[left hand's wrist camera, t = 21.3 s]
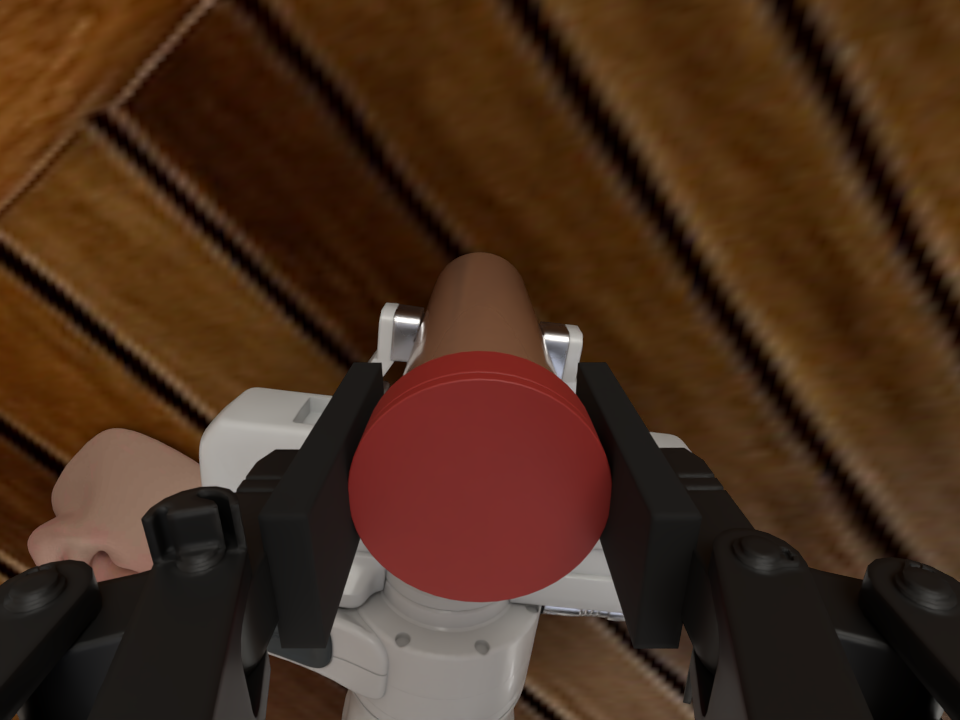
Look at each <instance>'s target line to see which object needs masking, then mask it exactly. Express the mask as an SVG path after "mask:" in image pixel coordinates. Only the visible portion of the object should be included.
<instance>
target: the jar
mask: <svg viewBox="0 0 960 720" xmlns="http://www.w3.org/2000/svg"><path fill="white" fill-rule="evenodd" d="M470 351H491V352H500V353H505V354H511V355H514V356H518V357H521V358H524V359H527V360H529V361H532V362H534V363H536V364H538V365H540V366H542V367H544V368H545V369H547V370H549V371H550V372H552V373H554V374H555V375H556V376H557V373H556V370H555V367H554V365H553V362H552V359H551V356H550V353H549V351H548V348H547V345H546V342H545V340H544V337H543V334H542V331H541V329H540V326H539V323H538V320H537V317H536V315H535V312H534V309H533V306H532V304H531V301H530V298H529V295H528V293H527V290H526V287H525V284H524V281H523V279H522V277H521V275H520V274H519V272H518V271H517V270H516V269H515V267H514V266H513V265H512V264H510V263H509V262H508V261H506V260H505V259H503V258H501V257H499V256H497V255H494V254H490V253H481V252H478V253H470V254H466V255H463V256H461V257H459V258H457V259H455V260H454V261H452V262H451V263H449V264H448V265H447V266H446V267H445V268H444V270H443V271H442V272H441V274H440V275H439V277H438V279H437V281H436V284H435V287H434V289H433V292H432V295H431V298H430V300H429V303H428V306H427V309H426V312H425V314H424V317H423V320H422V323H421V325H420V328H419V331H418V334H417V336H416V339H415V342H414V345H413V347H412V350H411V353H410V356H409V359H408V361H407V364H406V367H405V370H404V372H403V375H402V376H404V375H405V374H407V373H408V372H410V371H411V370H413V369H414V368H416V367H418V366H420V365H422V364H424V363H426V362H428V361H430V360H433V359H436V358H439V357H442V356H445V355H450V354H455V353H460V352H470ZM557 377H558V376H557Z"/></svg>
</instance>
